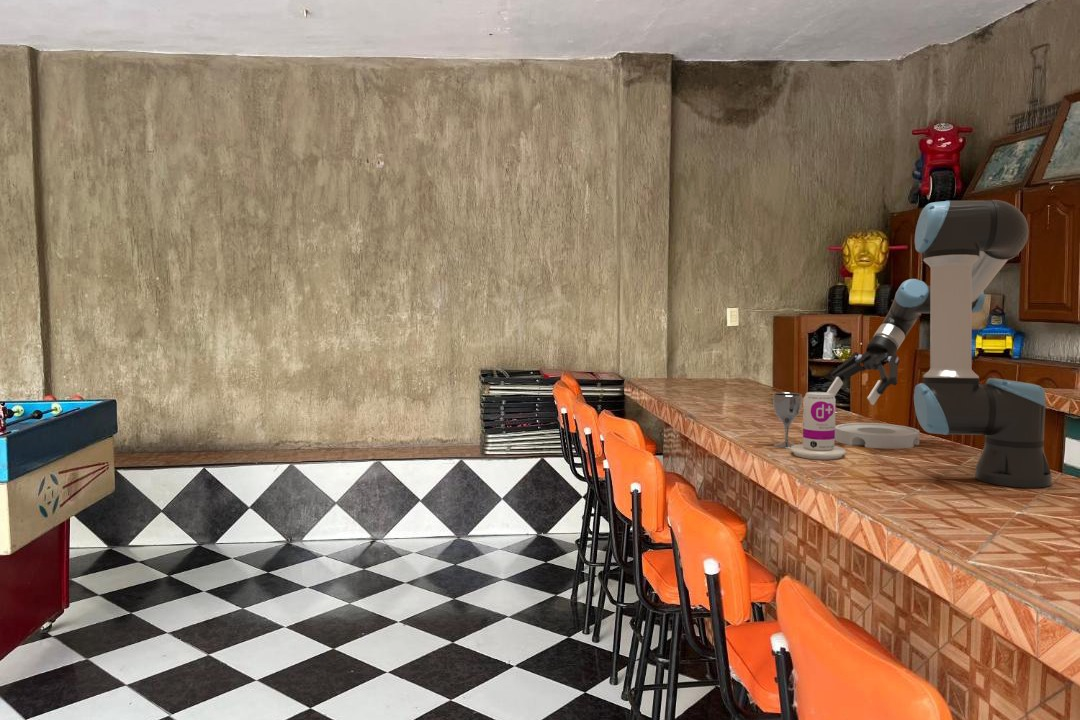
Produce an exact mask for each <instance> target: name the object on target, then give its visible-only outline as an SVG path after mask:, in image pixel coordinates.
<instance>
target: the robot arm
mask: <svg viewBox="0 0 1080 720" xmlns="http://www.w3.org/2000/svg"><path fill="white" fill-rule="evenodd" d="M1029 231H1030V230H1029V224H1028V221H1027V218H1026V217H1025V215H1024V214H1023V213H1022V211H1020V209H1019V208H1018V207H1016V206H1015V205H1013V204H1012V203H1009V202H1007V201H1004V200H1000V199H999V200H998V199H988V200H945V201H935V202H930V203H928V204H925V206H924V207H923V208H922V210H921V212H920V214H919V217H918V220H917V224H916V226H915V233H914V248H915V250H916V252H918V253H920V254H923V258H922V259H923V262H924V263H925V264H926V265H928V266H929V268H930V285H928V284H926V282H925V281H923V280H919V279H917V278H910V279H907V280H904V281H902V283H901V284H900V286H899V287H898V289H897V291H896V292H895V295H894V299H893V301H892V304H891V306H890V309H889V311H888V312H887V314H886V316H885V318H884V320H883V321H882V323H880V325H879V327H878V328H877V330H876V331H875V332H874V335H873V336H872V338H871V339H870V341H869V342H868V344H867V345H866V350H865V352H864V353H863V354H859V353H858V351H855V352H854V353H853V354H852V355H851V356H850V357H849V358H848V359H847V360H845V361H843V362H842V363H841V364H840V365H839V366H838V367H837V368H835V369H834V370H832V371H831V372H830V375H831V377H832V378H833V380H832V381H831V383H830V384H829V388H828V389H827V391H826V392H827V393H833V395H834V397H835V398H836V395H837V394H838V392H839V390H840V389H841V388H842V386H843V385H844V383H843V382H844V381H846V380H847V379H849V378H851V377H852V376H854V375H856V374H858V373H860V372H864V371H866V370H873V371H876V370H878V372H879V376H880V379H878V380H877V381H876V383H875V385H874V387H873V388H872V389H871V391H870V393H869V395H868V396H867V397H866V399H867V400H868V401H869V403H870V405H872V406H874V405H875V404H876V402H877V401H878V399H879V397H880V396H881V395H883V394H884V393H885V391H886V390H887V388H888V387H890V386H892V385H893V386H896V385H898V369H899V368H898V365H899V364H900V361H901V360H900V359H899V356H898V355H897V354H896V353H897V352H898V349H899V348H900V347H901V345H902V343H903V342H904V341H905V339H906V338H907V336H908V334H909V332H910V331H911V330H912V328H913V327H914V325H915V323H917V321H918V319H919V317H920V315H921V314H930V316H929V317H930V318H929V319H930V320H929V322H930V323H929V325H930V326H929V329H930V330H929V331H930V332H929V334H930V335H929V336H930V338H929V339H930V340H929V341H930V342H929V343H930V344H929V357H930V358H929V370H928V371H927V372H926V373H924V374H923V376H922V382H920V383H917V384H916V385H915V387H914V389H913V391H914V393H913V402H914V409H915V414H916V415H915V416H916V418H917V421H918V423H919V425H920V427H921V429H922V430H924V431H925V432H926V433H927V434H928V433H929V434H937V435H944V436H947V435H963V436H964V435H966V436H967V435H973V436H976V435H977V436H984V446H983V448H982V452H981V453H980V456H979V459H978V461H977V463H976V466H975V470H974V471H975V473H974V477H975V479H977V480H978V481H980V482H984V483H989V484H993V485H997V486H1005V487H1011V488H1023V489H1024V488H1027V489H1029V488H1031V489H1032V488H1033V489H1035V488H1036V489H1037V488H1039V489H1040V488H1046V487H1049V486H1052V476H1053V475H1052V471H1051V469H1050V467H1049V462H1048V460H1047V457H1046V453H1045V449H1044V444H1045V443H1044V442H1045V424H1046V408H1047V403H1046V391H1045V389H1044V388H1043V387H1042V386H1041V385H1038V384H1035V383H1029V382H1023V381H1017V380H1011V379H1010V380H1009V379H1002V378H993V377H989V378H988V379H987V380H986V381H985V384H980V376H979V375H978V374H977V373H975V371H973V369H972V361H973V360H972V359H973V358H972V354H973V353H972V345H973V343H972V341H973V340H972V332H973V331H972V329H973V327H972V324H973V322H972V321H973V317H972V314H973V313H974V314H976V313H979V312H981V311H982V310H983V308H984V305H985V299H986V298H985V290H986V288H987V287H988V286H989V284H990V283H991V282H992V281H993V279H995V277H996V275H997V274H998V273H999V272H1000V270H1002V268H1003V267H1004V266H1005V264H1006V263H1007V262H1008V261H1009V260H1012V259H1013V258H1015V257H1016V256H1018V255H1019V254H1020V252H1021V251H1022V250H1023V249H1024V247H1025V246H1026V244H1027V242H1028V238H1029V233H1030V232H1029ZM861 364H862V365H861ZM887 364H889V366H888V375H887V370H886V368H885V365H887Z"/></svg>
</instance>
